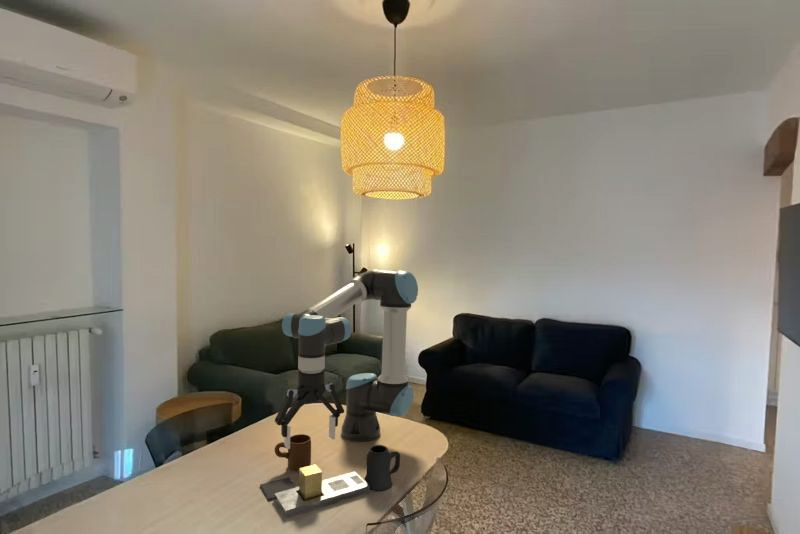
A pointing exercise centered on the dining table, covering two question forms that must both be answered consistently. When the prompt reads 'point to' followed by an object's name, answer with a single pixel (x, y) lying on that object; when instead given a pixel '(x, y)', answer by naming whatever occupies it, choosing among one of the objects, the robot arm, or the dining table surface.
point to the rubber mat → (277, 487)
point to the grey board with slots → (331, 493)
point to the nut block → (310, 482)
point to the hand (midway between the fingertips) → (310, 442)
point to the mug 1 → (296, 452)
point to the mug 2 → (380, 468)
